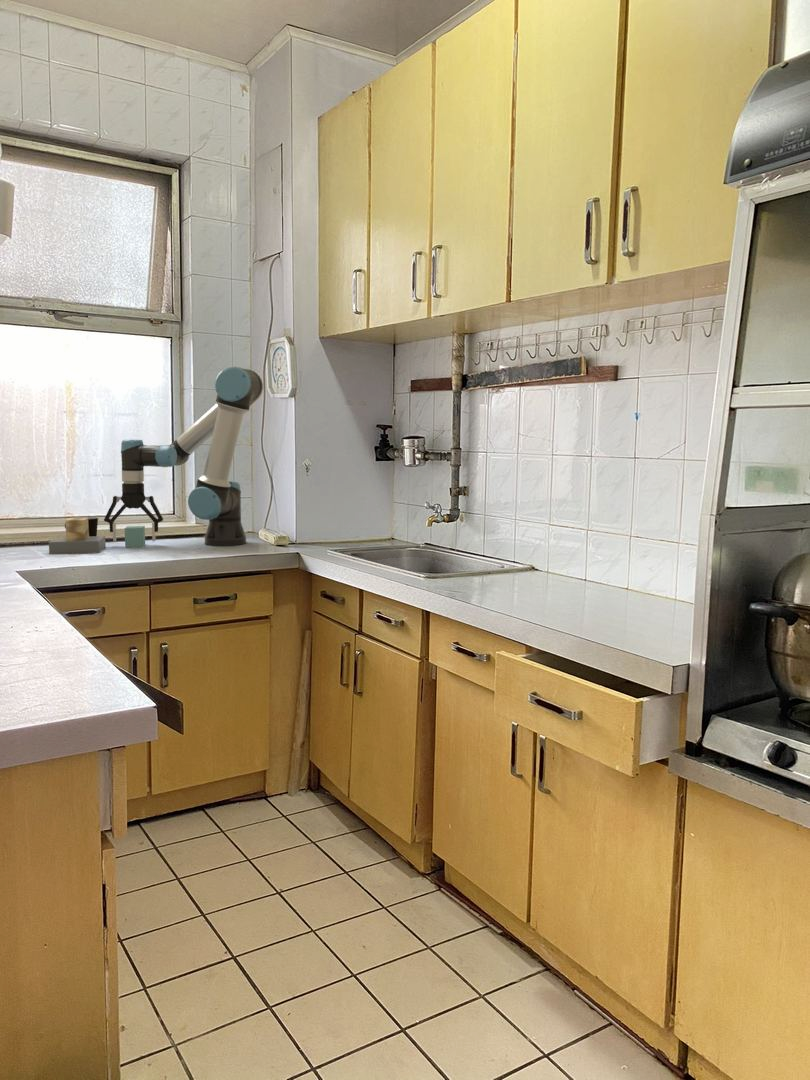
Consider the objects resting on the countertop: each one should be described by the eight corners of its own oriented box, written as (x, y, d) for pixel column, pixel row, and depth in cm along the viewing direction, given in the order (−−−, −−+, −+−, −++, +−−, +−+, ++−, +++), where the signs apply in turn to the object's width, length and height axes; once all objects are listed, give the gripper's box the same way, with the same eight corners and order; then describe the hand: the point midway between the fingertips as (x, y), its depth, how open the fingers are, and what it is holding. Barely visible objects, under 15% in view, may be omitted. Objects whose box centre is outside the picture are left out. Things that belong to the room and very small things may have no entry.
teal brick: (145, 544, 304) (144, 525, 303) (142, 547, 296) (142, 528, 295) (128, 544, 302) (127, 526, 302) (125, 547, 295) (124, 528, 294)
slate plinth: (105, 547, 295) (105, 536, 295) (99, 552, 282) (98, 541, 281) (58, 548, 292) (57, 537, 292) (49, 553, 279) (48, 542, 278)
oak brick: (89, 537, 291) (88, 517, 290) (84, 540, 283) (83, 520, 282) (70, 537, 290) (70, 518, 289) (66, 540, 282) (65, 520, 281)
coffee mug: (104, 544, 302) (103, 517, 300) (84, 547, 294) (82, 519, 293) (84, 542, 308) (82, 515, 307) (63, 545, 301) (62, 517, 299)
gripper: (169, 482, 302) (170, 539, 305) (98, 481, 297) (99, 539, 300) (168, 483, 295) (169, 542, 298) (94, 482, 290) (96, 542, 293)
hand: (134, 541), depth 299 cm, fingers open, 13 cm apart
